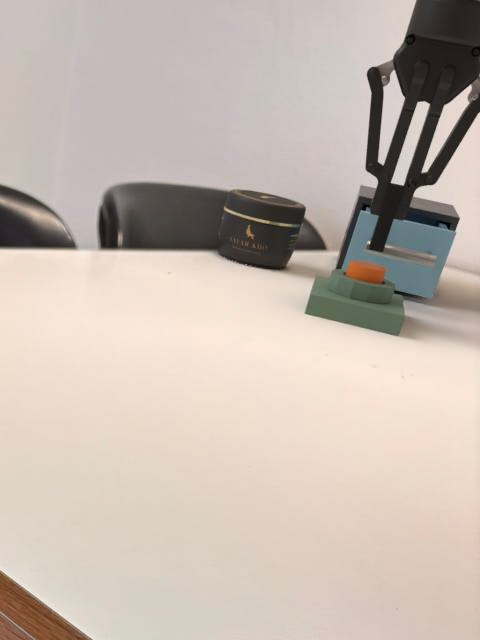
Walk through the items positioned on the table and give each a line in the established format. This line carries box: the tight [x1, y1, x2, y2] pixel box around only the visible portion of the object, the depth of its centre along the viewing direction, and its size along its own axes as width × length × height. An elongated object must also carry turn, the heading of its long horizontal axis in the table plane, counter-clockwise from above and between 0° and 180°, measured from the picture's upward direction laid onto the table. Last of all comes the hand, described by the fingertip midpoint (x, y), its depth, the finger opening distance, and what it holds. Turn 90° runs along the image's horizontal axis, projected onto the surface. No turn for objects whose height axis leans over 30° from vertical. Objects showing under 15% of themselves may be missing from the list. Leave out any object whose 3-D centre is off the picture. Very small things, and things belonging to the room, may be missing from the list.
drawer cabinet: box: [334, 184, 461, 269], centre depth 143 cm, size 15×13×10 cm
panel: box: [304, 268, 406, 337], centre depth 118 cm, size 12×10×4 cm
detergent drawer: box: [342, 204, 457, 300], centre depth 133 cm, size 20×11×8 cm, turn 162°
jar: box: [216, 188, 307, 270], centre depth 135 cm, size 10×10×8 cm
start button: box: [346, 260, 386, 284], centre depth 117 cm, size 4×4×2 cm
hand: (375, 249), depth 115 cm, fingers closed
